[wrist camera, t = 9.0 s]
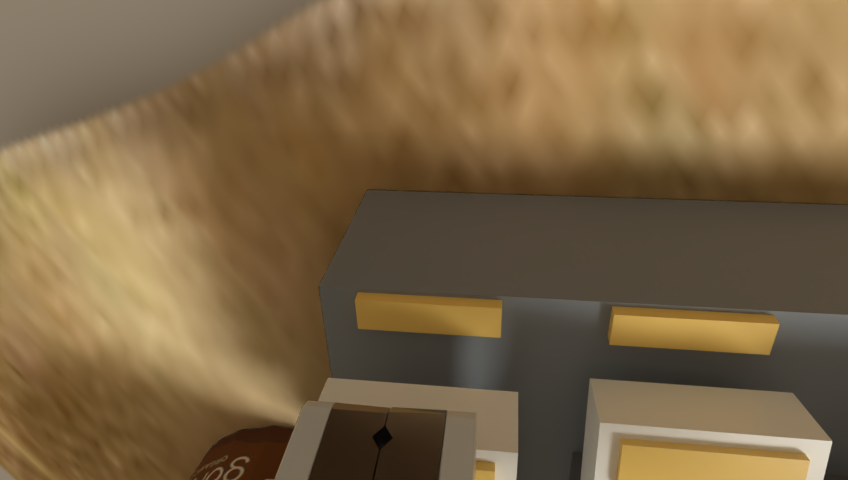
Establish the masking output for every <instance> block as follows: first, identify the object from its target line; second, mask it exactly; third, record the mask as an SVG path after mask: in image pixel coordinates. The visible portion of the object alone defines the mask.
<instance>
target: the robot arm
mask: <svg viewBox="0 0 848 480" xmlns="http://www.w3.org/2000/svg"><path fill="white" fill-rule="evenodd" d="M476 447H477V413H474V412H460V411H447V410H434V409H417V408H400V407H392V408H387V407H377V406H367V405H357V404H346V403H336V402H335V403H333V402H322V401H311V400H308V401H307V402H306V403H305V405H304V406H303V407H302V409H301V412H300V414H299V417H298V419H297V422H296V425H295V427H294V430H293V432H292V435H291V438H290V440H289V443H288V445H287V448H286V451H285V453H284V456H283V458H282V461H281V464H280V466H279V469H278V471H277V474H276V477H275V479H265V480H476Z"/></svg>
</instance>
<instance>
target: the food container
mask: <svg viewBox="0 0 848 480" xmlns="http://www.w3.org/2000/svg"><path fill="white" fill-rule="evenodd" d="M293 430H294V428H290V427H281V426H267V427H260V428H252V429H244V430H240V431H238V432H236V433H233V434H231V435H229V436H227V437H224V438H222V439H221V440H220V441H218V442H217V443H216V444H215V445H213V446H212V448H211V449H210V450H209V452H208V453H207V454H206V456H205V457H204V459H203V460H202V462H201V463H200V465H199V466H198V468H197V469H196V471H195V472H194V474H193V475H192V477H191V478H190V480H265V479H275V477H276V474H277V471H278V469H279V466H280V464H281V461H282V458H283V456H284V453H285V451H286V448H287V445H288V443H289V440H290V438H291V435H292V432H293Z"/></svg>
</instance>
